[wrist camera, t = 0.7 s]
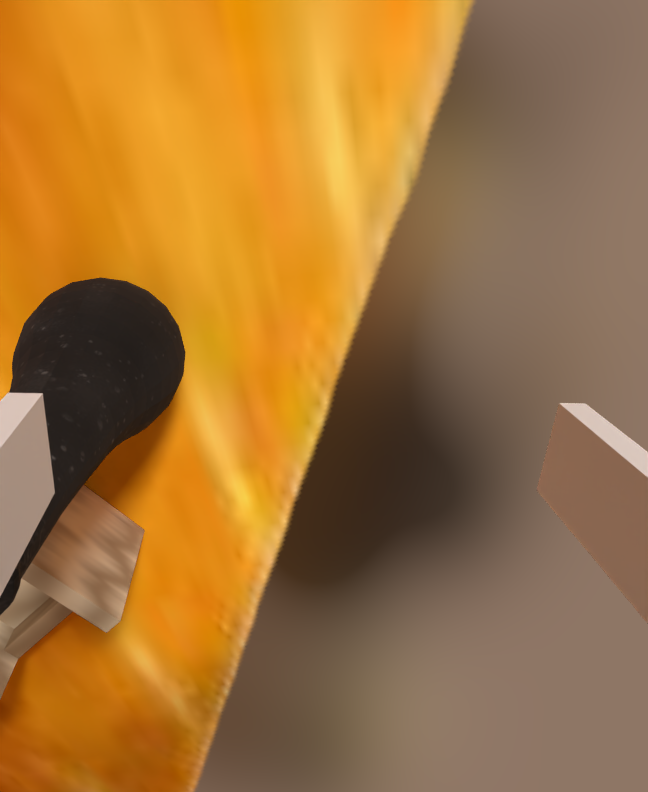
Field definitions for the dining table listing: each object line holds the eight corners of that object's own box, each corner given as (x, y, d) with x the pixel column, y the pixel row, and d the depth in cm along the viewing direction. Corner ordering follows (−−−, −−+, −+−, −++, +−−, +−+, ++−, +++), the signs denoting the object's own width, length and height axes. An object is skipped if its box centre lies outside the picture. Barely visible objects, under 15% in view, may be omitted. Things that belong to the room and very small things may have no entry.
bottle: (117, 419, 48) (-53, 782, 21) (18, 320, 44) (-358, 607, 17) (219, 345, 47) (180, 628, 19) (126, 234, 43) (-92, 396, 15)
